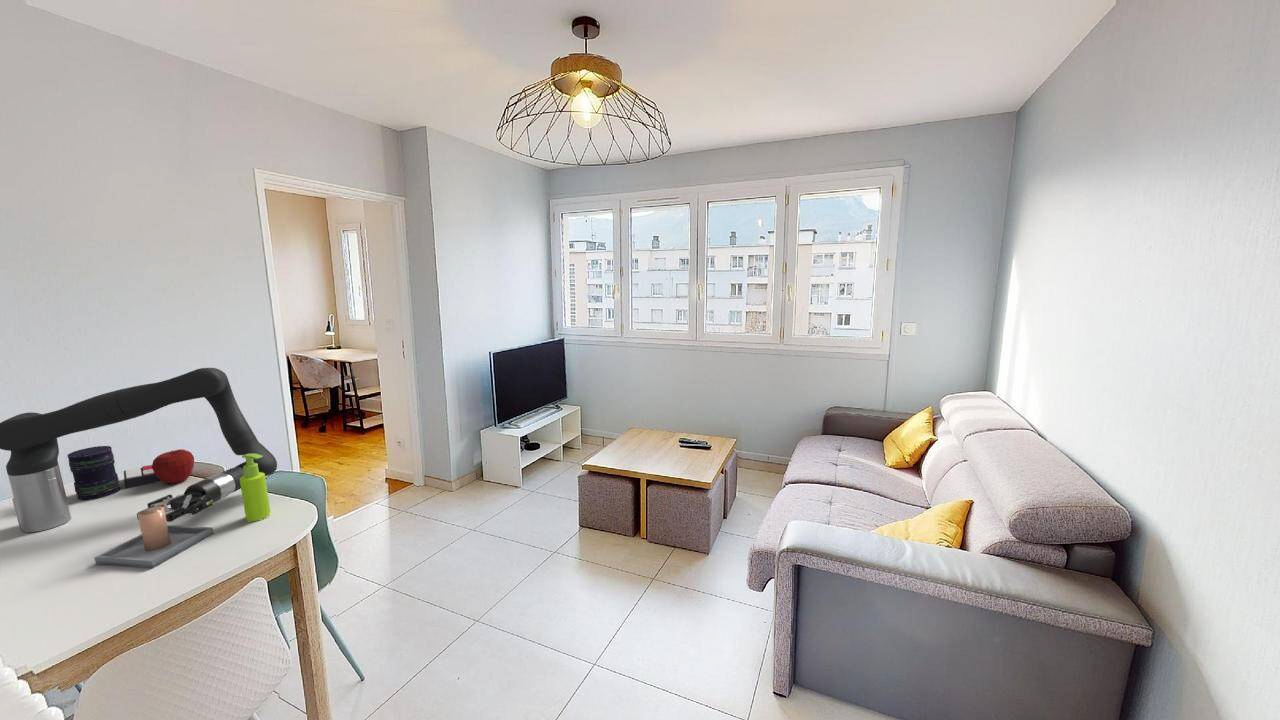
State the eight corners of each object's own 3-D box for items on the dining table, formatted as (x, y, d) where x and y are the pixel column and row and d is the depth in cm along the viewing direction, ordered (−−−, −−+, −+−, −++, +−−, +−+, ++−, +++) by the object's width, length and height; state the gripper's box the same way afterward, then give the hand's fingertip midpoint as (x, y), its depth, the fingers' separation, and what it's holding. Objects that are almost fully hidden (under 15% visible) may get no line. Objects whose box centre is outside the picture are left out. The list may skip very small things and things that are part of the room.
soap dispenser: (260, 523, 144) (250, 459, 140) (241, 520, 145) (230, 457, 141) (278, 513, 149) (269, 451, 146) (259, 511, 151) (250, 450, 147)
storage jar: (93, 488, 165) (84, 447, 163) (128, 485, 168) (120, 444, 165) (67, 502, 156) (57, 458, 153) (105, 499, 158) (95, 455, 155)
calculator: (184, 466, 176) (124, 477, 165) (185, 478, 176) (125, 489, 165) (181, 458, 183) (123, 468, 172) (182, 469, 184) (124, 480, 173)
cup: (139, 550, 128) (131, 514, 127) (159, 539, 133) (152, 505, 131) (156, 551, 128) (149, 515, 126) (175, 540, 133) (169, 506, 131)
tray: (96, 564, 124) (94, 557, 123) (162, 531, 139) (160, 524, 139) (153, 568, 122) (151, 560, 122) (213, 533, 138) (212, 527, 137)
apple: (178, 474, 177) (172, 444, 174) (206, 475, 176) (200, 444, 174) (146, 488, 166) (139, 455, 164) (175, 489, 165) (169, 456, 163)
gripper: (187, 477, 145) (125, 503, 129) (230, 479, 144) (174, 506, 128) (191, 500, 146) (131, 529, 131) (234, 503, 145) (179, 532, 129)
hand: (152, 517), depth 129 cm, fingers open, 8 cm apart
